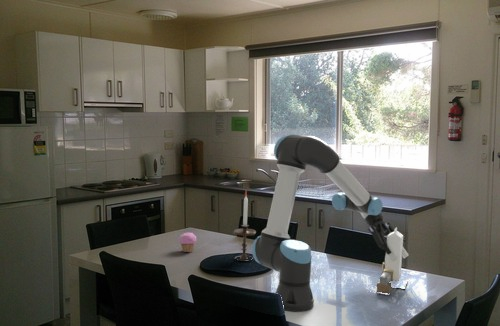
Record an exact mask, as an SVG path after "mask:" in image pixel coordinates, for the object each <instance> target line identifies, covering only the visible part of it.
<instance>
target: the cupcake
mask: <svg viewBox="0 0 500 326" xmlns="http://www.w3.org/2000/svg"><path fill="white" fill-rule="evenodd" d="M178 242H179V243H180V245H181V250H182V251H183V253H186V252H187V253H191V252H193V250H194V247H195V245H194V244H195V243H196V242H197V236H196V235H195V234H194V233H193V232H184V233H182V234H180V236H179V237H178Z"/></svg>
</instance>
